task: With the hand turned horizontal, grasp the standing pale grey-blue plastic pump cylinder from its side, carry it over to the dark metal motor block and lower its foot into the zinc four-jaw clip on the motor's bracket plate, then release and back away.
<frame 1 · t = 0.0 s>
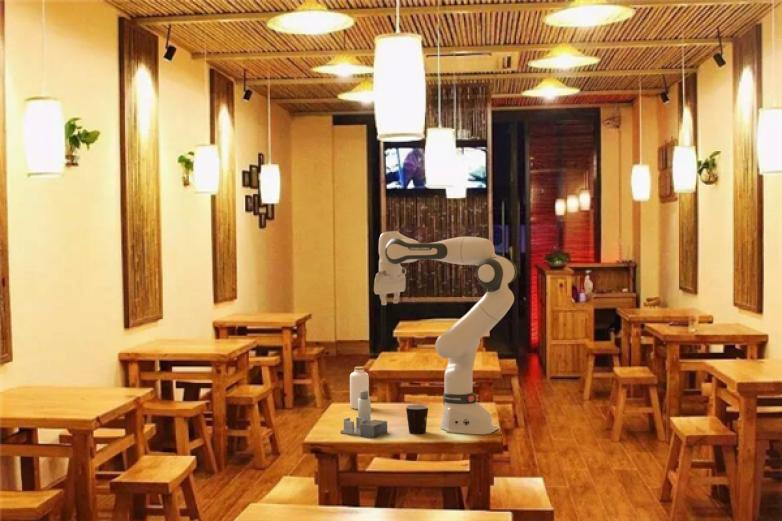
hand: (390, 304, 360), 48 cm above the table, tool pointing down, fingers open, 8 cm apart
motor bracket: (365, 433, 339), on the table
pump: (364, 426, 352), on the table
coffee mug: (415, 433, 338), on the table
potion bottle: (359, 408, 388), on the table
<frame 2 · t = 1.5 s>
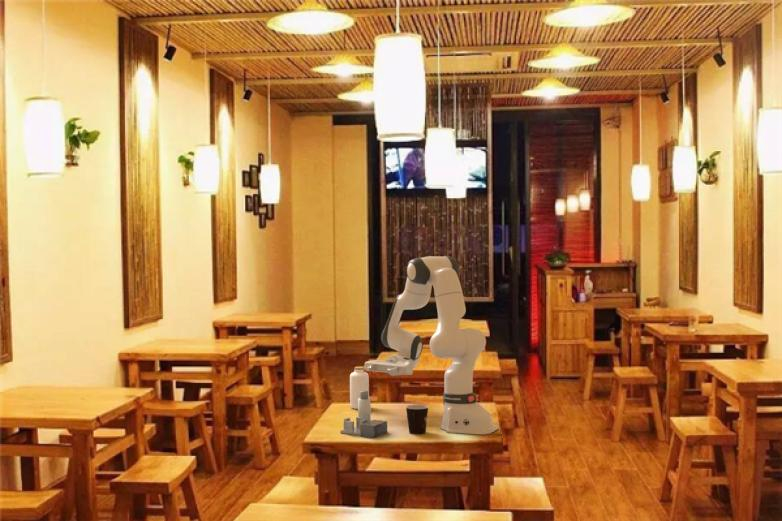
hand: (378, 370, 361), 21 cm above the table, tool horizontal, fingers open, 8 cm apart
nothing on the table moved.
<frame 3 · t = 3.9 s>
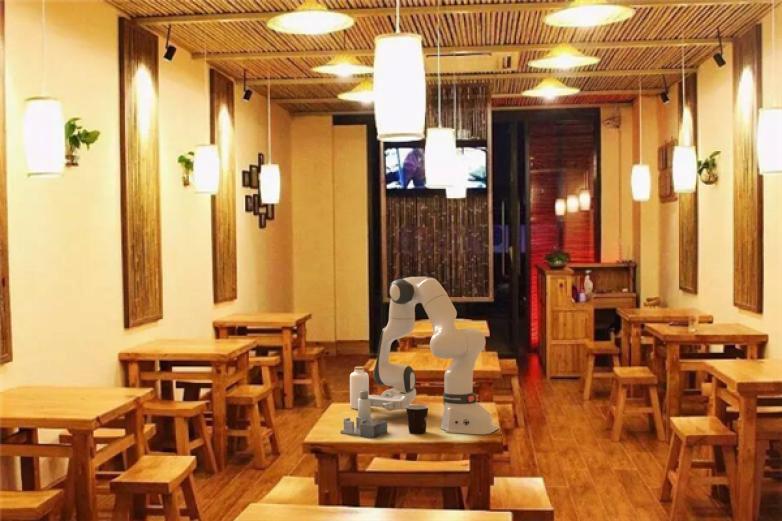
hand: (374, 405, 358), 7 cm above the table, tool horizontal, fingers open, 8 cm apart
nothing on the table moved.
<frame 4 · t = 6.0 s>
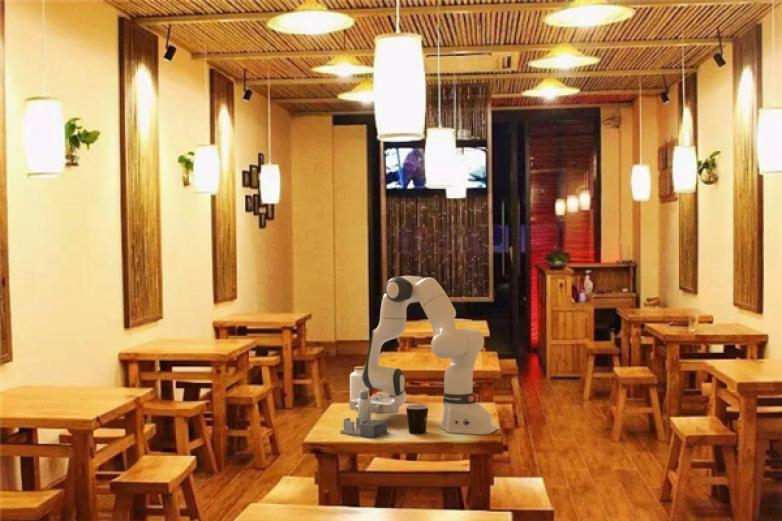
hand: (363, 408, 351), 7 cm above the table, tool horizontal, fingers closed on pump, 5 cm apart
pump: (364, 426, 352), on the table, touching gripper
everything else where it was.
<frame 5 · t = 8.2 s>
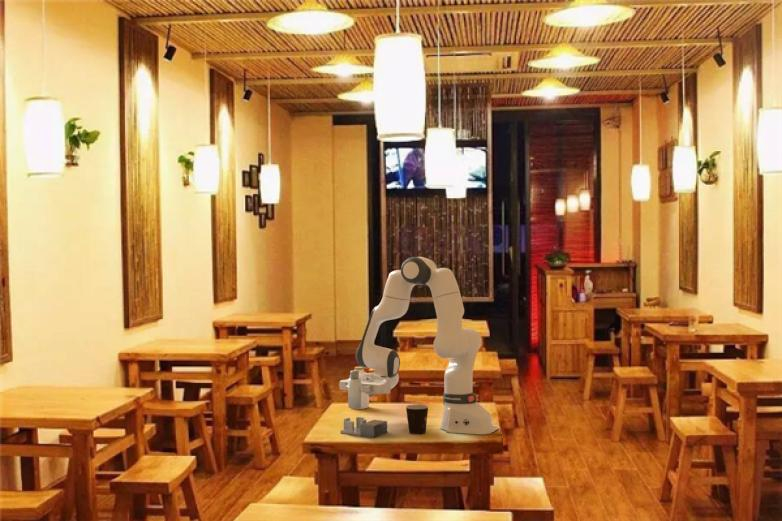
hand: (353, 389, 340), 17 cm above the table, tool horizontal, fingers closed on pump, 5 cm apart
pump: (354, 407, 341), point 10 cm above the table, touching gripper
everything else where it was.
when the fingers open (9 cm above the table, at t = 10.3 s): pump drops 1 cm, resting on motor bracket.
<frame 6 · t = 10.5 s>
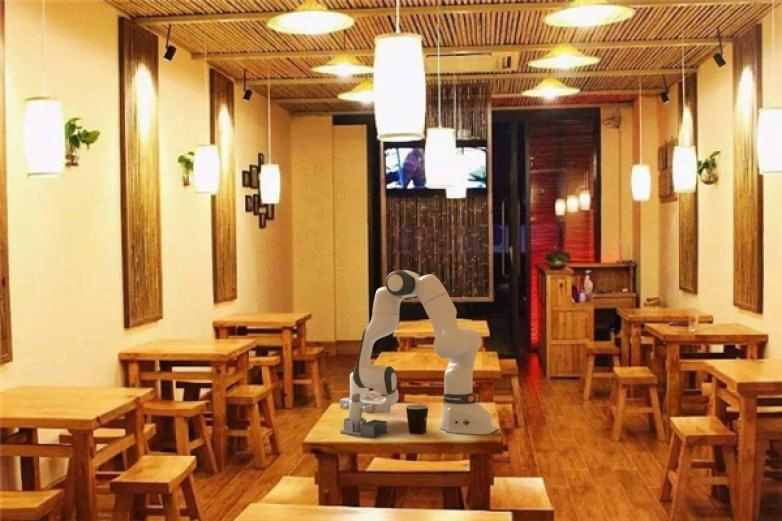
hand: (353, 408, 340), 9 cm above the table, tool horizontal, fingers open, 7 cm apart
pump: (355, 429, 341), point 1 cm above the table, touching motor bracket
everything else where it was.
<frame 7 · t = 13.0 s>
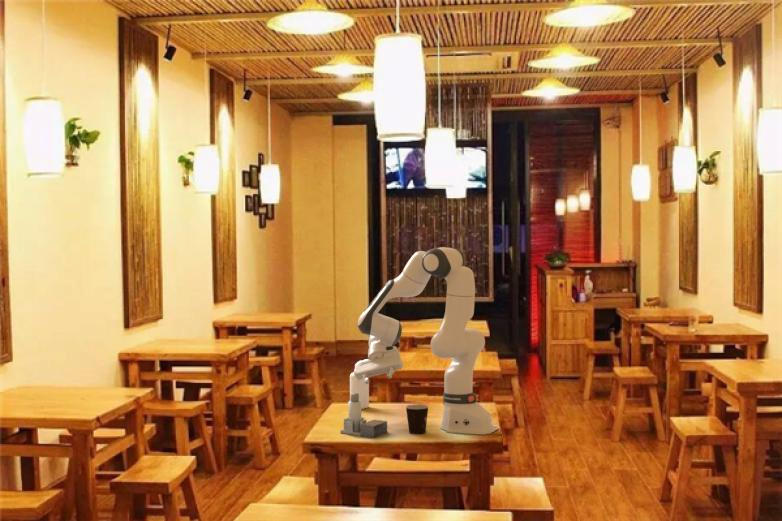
hand: (378, 380, 350), 19 cm above the table, tool tilted 55°, fingers open, 8 cm apart
nothing on the table moved.
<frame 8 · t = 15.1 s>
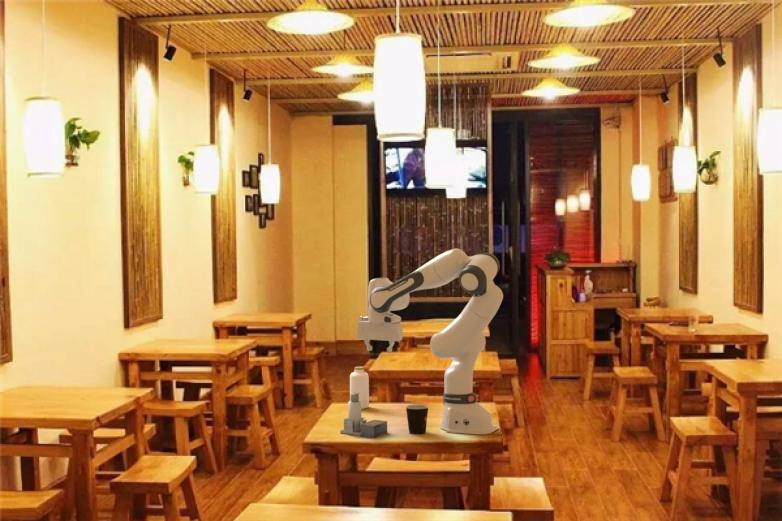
hand: (379, 351, 358), 29 cm above the table, tool pointing down, fingers open, 8 cm apart
nothing on the table moved.
at the end: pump 0.0 cm from the target spot on the motor bracket, point 1.0 cm above the motor bracket's base; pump tilted 0°; the gripper is holding nothing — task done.
